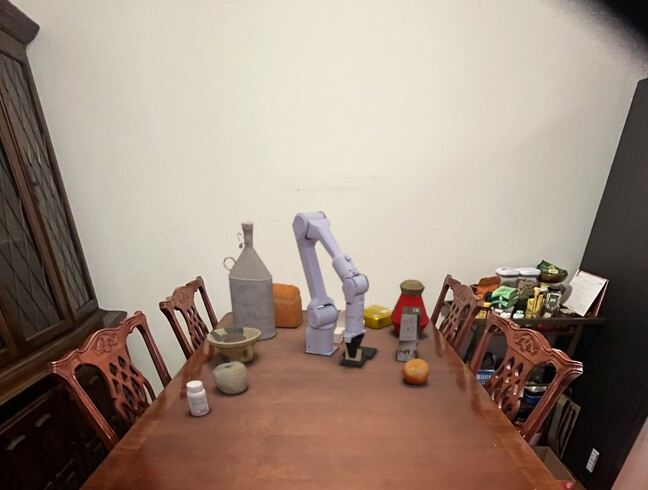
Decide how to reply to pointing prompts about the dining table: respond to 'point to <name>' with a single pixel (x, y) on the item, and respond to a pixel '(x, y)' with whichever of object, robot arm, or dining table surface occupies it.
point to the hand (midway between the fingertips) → (353, 356)
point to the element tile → (377, 316)
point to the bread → (287, 305)
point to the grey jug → (251, 288)
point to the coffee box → (409, 333)
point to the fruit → (415, 371)
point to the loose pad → (353, 360)
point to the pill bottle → (197, 398)
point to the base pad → (366, 352)
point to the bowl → (235, 342)
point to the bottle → (409, 303)
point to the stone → (231, 377)
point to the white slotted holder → (341, 327)
